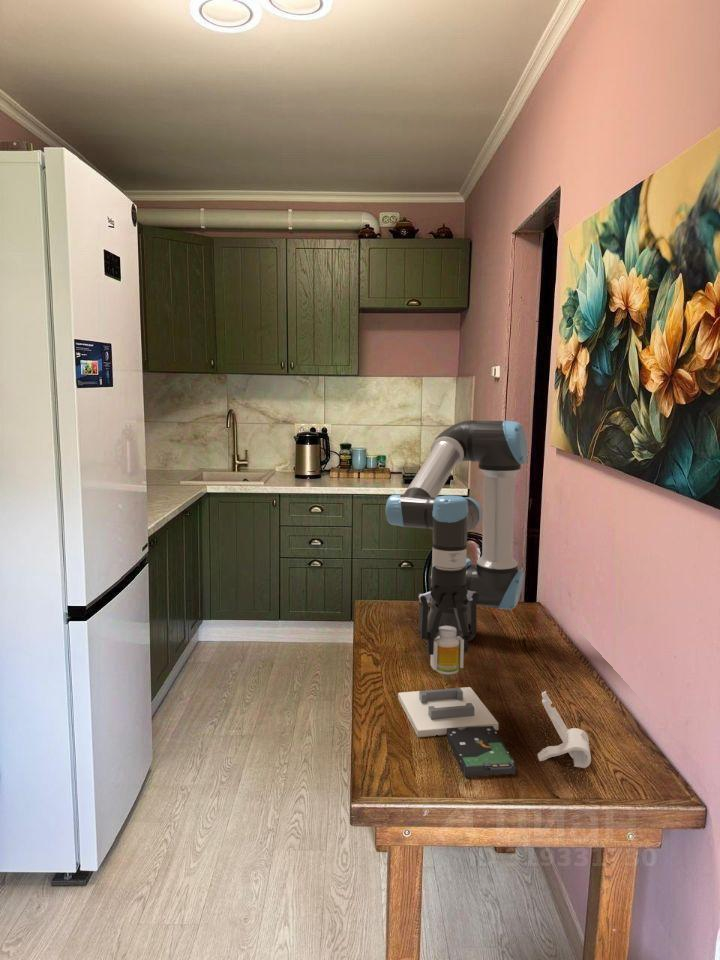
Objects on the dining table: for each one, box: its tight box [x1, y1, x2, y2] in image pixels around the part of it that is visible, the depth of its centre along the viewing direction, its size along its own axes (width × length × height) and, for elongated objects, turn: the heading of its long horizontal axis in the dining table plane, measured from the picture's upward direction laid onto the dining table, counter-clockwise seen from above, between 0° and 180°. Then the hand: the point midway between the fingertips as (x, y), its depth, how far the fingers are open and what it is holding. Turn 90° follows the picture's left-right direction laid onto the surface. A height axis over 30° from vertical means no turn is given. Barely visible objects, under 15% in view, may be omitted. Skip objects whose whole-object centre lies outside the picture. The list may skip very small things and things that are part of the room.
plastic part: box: [537, 690, 592, 769], centre depth 132 cm, size 8×10×12 cm
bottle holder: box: [397, 686, 499, 738], centre depth 150 cm, size 18×18×4 cm
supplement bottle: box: [435, 626, 460, 675], centre depth 148 cm, size 5×5×10 cm
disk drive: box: [446, 726, 517, 778], centre depth 133 cm, size 10×3×15 cm
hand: (446, 666), depth 148 cm, fingers closed on supplement bottle, 5 cm apart
